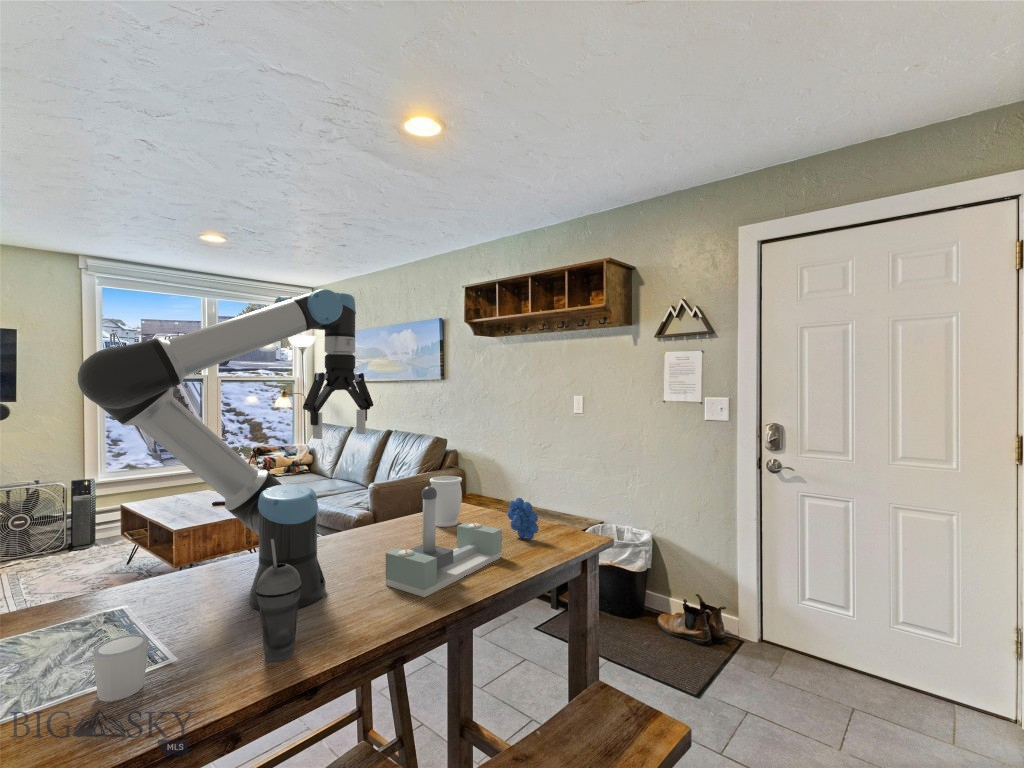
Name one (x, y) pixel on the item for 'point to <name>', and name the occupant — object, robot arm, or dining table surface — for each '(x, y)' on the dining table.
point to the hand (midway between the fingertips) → (340, 436)
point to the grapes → (523, 518)
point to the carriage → (432, 531)
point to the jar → (447, 499)
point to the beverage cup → (278, 608)
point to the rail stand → (425, 579)
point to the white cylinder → (120, 666)
